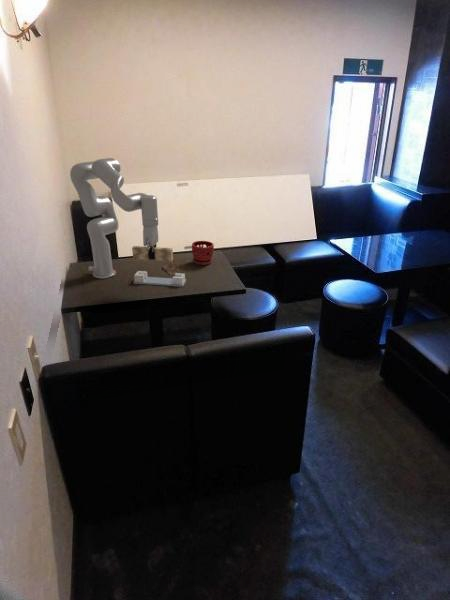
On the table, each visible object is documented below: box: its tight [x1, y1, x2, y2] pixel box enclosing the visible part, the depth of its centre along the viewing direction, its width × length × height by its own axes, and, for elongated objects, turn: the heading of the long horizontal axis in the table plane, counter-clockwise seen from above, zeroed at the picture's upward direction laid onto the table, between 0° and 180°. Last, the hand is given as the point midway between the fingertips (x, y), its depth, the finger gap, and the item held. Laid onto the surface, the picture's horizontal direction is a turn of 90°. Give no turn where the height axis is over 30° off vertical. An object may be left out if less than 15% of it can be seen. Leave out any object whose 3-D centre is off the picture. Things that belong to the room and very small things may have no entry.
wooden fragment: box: [161, 259, 182, 276], centre depth 240 cm, size 26×11×1 cm, turn 4°
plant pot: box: [191, 240, 215, 266], centre depth 245 cm, size 13×13×12 cm
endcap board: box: [133, 270, 187, 287], centre depth 218 cm, size 27×8×4 cm, turn 82°
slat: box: [131, 245, 174, 262], centre depth 203 cm, size 20×2×6 cm, turn 81°
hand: (152, 257), depth 204 cm, fingers closed on slat, 2 cm apart
